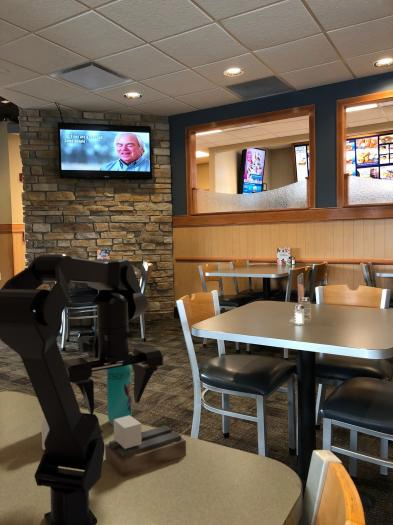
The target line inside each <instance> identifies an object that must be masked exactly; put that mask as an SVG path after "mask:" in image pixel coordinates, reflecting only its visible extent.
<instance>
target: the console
mask: <svg viewBox="0 0 393 525" xmlns="http://www.w3.org/2000/svg"><path fill="white" fill-rule="evenodd" d="M104 445H105V450H104V458H105V460H106V461H107V462H108V464H109V465H110V466H111V467H112V468H113V469H114V470H115V471H116V472H117V473H118V474H119V475H120V476H121V477H122V478H123V477H125V476H129V475H132V474H134V473H135V474H136V473H137V472H140V471H143V470H147V469H150V468H153V467H155V466H159V465H161V464H164V463H167V462H170V461H173V460H176V459H179V458H181V457H185V456H186V455H187V441H186V439H184V438H183V437H182V435H181V434H179V433H178V432H176V431H173V430H172V428H170V427H169V426H167V425H161V426H158V427H156V428H152V429H149V430H144V431H141V444H140V445H136V446H133V447H130V448H126V449H124V448H123V447H122V446H121V445H120V444H119V443H118V442H117V441H115V440H114V439H113V440H110V441H109V443H107V444H105V443H104Z"/></svg>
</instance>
